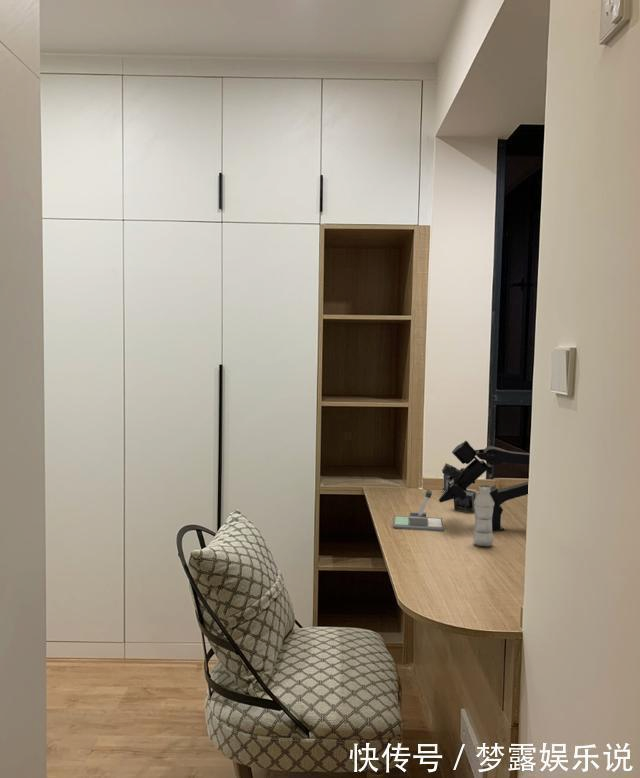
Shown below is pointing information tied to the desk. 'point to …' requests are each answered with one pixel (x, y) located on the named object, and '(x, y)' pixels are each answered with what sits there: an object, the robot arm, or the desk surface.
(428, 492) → the lever
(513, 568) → the desk surface
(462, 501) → the electrical switch
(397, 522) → the switch plate
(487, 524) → the plastic bottle
